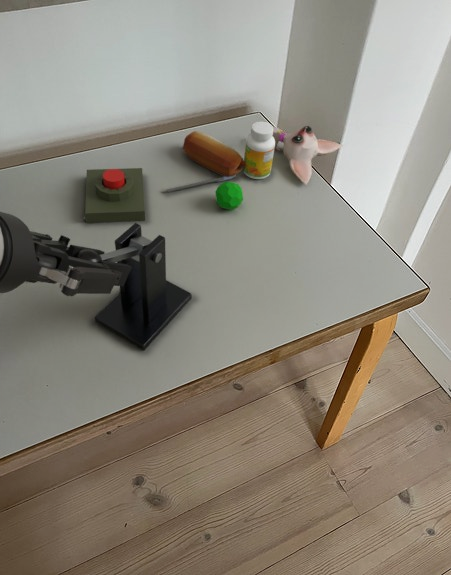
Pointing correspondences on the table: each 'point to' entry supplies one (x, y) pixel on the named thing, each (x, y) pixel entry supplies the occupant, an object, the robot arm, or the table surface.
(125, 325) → the switch bracket
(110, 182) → the button
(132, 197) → the control box
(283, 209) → the table surface
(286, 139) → the toy dog
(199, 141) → the hot dog
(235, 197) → the polyhedron
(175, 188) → the pen
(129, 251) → the lever
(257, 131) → the supplement bottle
